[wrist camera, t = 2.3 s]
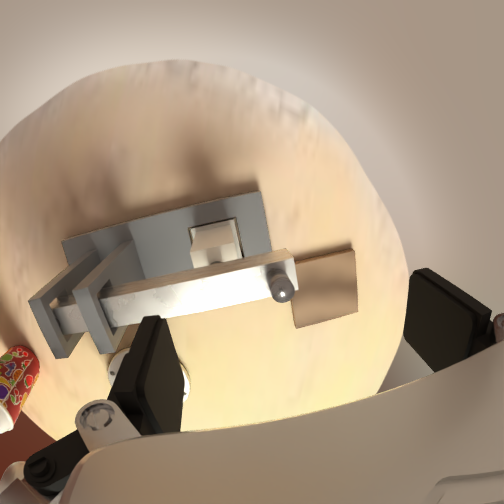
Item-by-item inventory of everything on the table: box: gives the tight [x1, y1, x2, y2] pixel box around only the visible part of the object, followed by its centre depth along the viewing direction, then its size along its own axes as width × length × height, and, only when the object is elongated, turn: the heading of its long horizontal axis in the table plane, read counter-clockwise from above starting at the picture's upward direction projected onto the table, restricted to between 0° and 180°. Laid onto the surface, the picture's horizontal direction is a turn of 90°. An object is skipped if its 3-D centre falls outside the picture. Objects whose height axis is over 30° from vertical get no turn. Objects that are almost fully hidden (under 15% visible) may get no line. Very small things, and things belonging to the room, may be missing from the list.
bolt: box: [49, 248, 298, 335], centre depth 22 cm, size 3×22×5 cm, turn 101°
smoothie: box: [0, 345, 40, 434], centre depth 28 cm, size 8×8×20 cm
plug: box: [190, 218, 242, 268], centre depth 31 cm, size 5×5×10 cm
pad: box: [291, 249, 358, 329], centre depth 38 cm, size 9×9×1 cm
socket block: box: [28, 190, 272, 359], centre depth 28 cm, size 12×25×15 cm, turn 101°
